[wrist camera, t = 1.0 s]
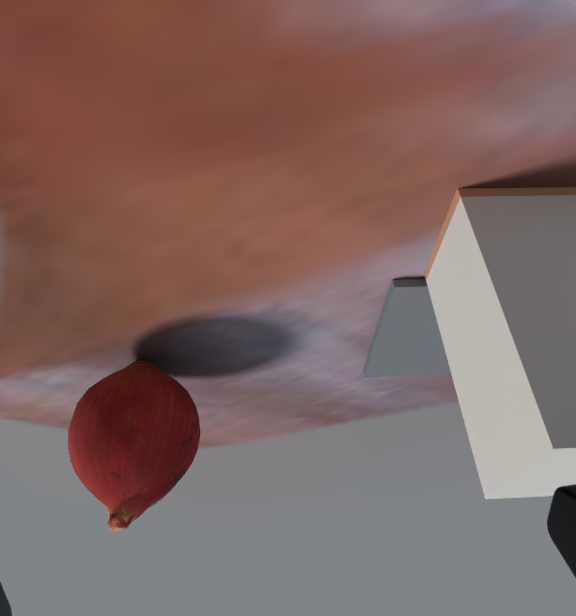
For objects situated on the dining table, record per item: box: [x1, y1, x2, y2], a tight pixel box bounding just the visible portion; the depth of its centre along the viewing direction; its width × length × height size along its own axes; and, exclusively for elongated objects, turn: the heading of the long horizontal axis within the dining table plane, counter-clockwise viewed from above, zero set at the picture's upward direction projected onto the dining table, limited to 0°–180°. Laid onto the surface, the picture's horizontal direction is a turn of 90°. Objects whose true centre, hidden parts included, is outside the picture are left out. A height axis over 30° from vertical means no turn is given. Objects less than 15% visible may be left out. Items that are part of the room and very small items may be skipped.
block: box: [424, 187, 576, 499], centre depth 16 cm, size 4×4×9 cm
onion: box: [68, 361, 200, 531], centre depth 23 cm, size 6×6×8 cm
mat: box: [363, 279, 451, 377], centre depth 24 cm, size 8×7×1 cm
